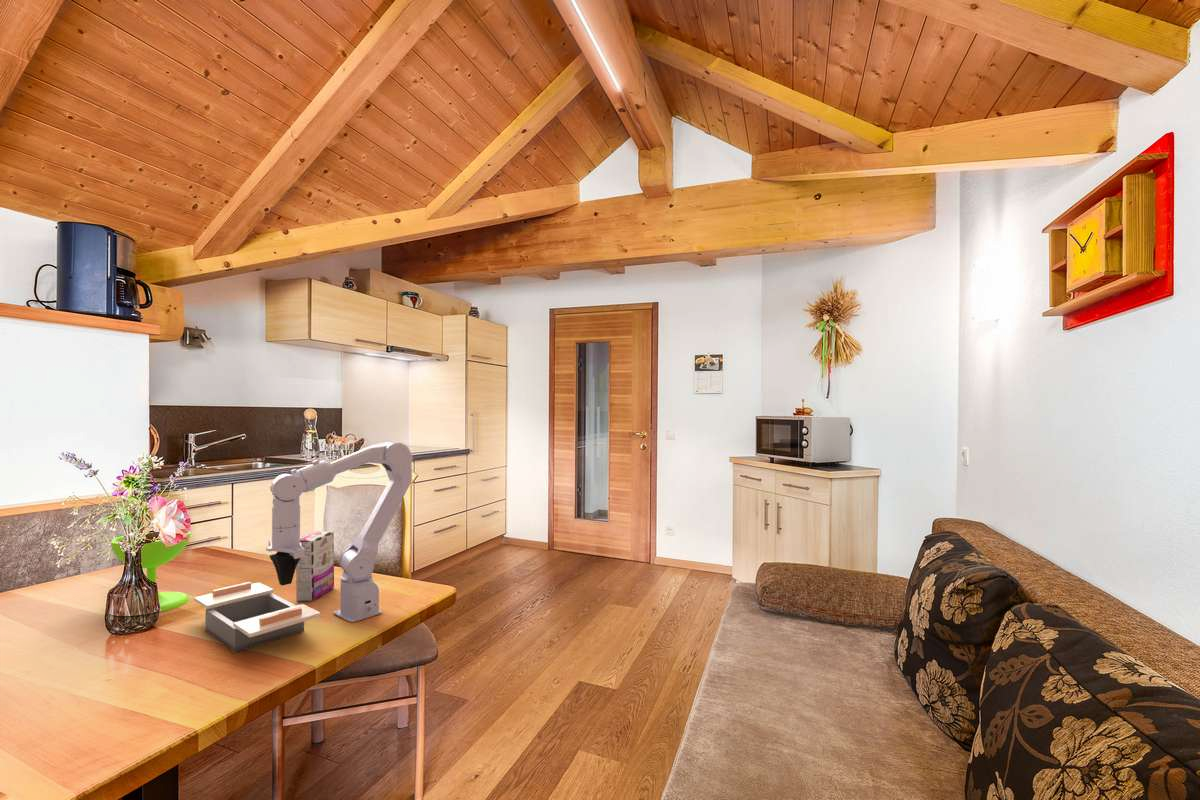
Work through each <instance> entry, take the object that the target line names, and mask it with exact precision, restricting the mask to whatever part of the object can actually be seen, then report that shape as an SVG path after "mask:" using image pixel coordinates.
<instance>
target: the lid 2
mask: <svg viewBox="0 0 1200 800" xmlns="http://www.w3.org/2000/svg"><path fill="white" fill-rule="evenodd" d="M295 605H296V604H295ZM321 615H322V614H321V612H320V611H318V610H317V609H314V608H312V607H310V606H307V605H306V604H304V603H300V604H298V605H296V606H293V607H289V608H286V609H282V610H278V611H275V612H271V613H267V614H264V615H260V616H256V617H253V618H249V619H246V620H242V621H238V622H235V623H233V627H235V628H236V629H238V630H239V631H241V632H242V633H244V634H245V635H247V636H248V637H254V636H257V635H260V634H264V633H267V632H270V631H273V630H277V629H280V628H283V627H287V626H290V625H293V624H297V623H300V622H303V621H304V622H306V621H309V620H313V619H316V618H319V617H322V616H321Z"/></svg>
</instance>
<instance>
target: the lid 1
mask: <svg viewBox="0 0 1200 800" xmlns="http://www.w3.org/2000/svg"><path fill="white" fill-rule="evenodd" d="M270 593H273V594H274V588H271V587H270V586H268V585H266V584H263V583H261V582H255V583H252V582H251V581H248V582H242V583H238V584H234V585H230V586H226V587H225V586H224V587H221V588H216V589H213V590H212V591H211V593H208V594H203V595H199V596H198V595H197V596H195V597H193V598H194V599H193V600H194V602H195V603H197V604H198V605H199V606H201V607H203V608H205V610H206V609H210V608H214V607H218V606H222V605H226V604H230V603H234V602H238V601H242V600H246V599H250V598H254V597H258V596H262V595H266V594H270Z"/></svg>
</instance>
